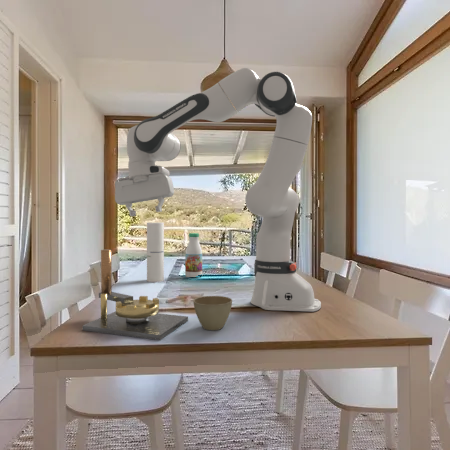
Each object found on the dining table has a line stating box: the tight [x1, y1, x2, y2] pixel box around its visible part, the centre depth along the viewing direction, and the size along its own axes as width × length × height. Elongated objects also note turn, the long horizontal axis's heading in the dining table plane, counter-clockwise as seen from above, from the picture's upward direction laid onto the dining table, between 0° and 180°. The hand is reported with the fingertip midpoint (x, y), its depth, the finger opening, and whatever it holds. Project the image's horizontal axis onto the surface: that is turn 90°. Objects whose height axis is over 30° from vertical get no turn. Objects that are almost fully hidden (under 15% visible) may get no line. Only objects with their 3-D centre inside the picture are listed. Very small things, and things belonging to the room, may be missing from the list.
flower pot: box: [192, 295, 233, 331], centre depth 94 cm, size 10×10×7 cm
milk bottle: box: [184, 232, 203, 278], centre depth 167 cm, size 8×8×20 cm
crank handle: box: [98, 249, 160, 318], centre depth 98 cm, size 20×11×15 cm, turn 54°
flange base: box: [82, 293, 189, 341], centre depth 96 cm, size 22×16×8 cm
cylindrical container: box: [146, 221, 165, 283], centre depth 157 cm, size 7×7×25 cm
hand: (145, 213), depth 121 cm, fingers open, 8 cm apart
